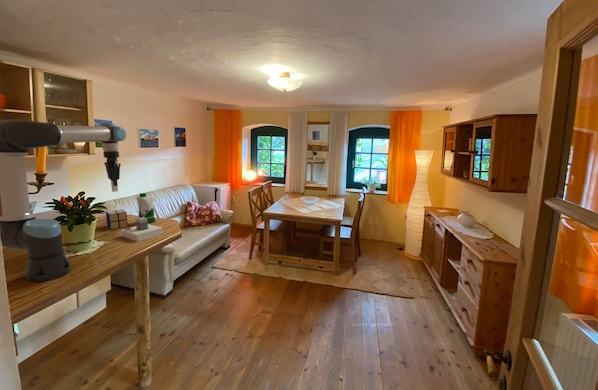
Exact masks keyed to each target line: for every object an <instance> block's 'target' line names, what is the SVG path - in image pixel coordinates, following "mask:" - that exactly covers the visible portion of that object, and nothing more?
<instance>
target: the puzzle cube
mask: <svg viewBox="0 0 598 390" xmlns="http://www.w3.org/2000/svg"><path fill="white" fill-rule="evenodd" d="M127 214H128V212H127V211H125V209H123V208H122V209H115V210H107V211H105V217H106V224H107V225H106V226H107V227H108V228H109V229H110V230H117V229H122V228H123V229H124V228H129V223H128V215H127Z"/></svg>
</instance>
